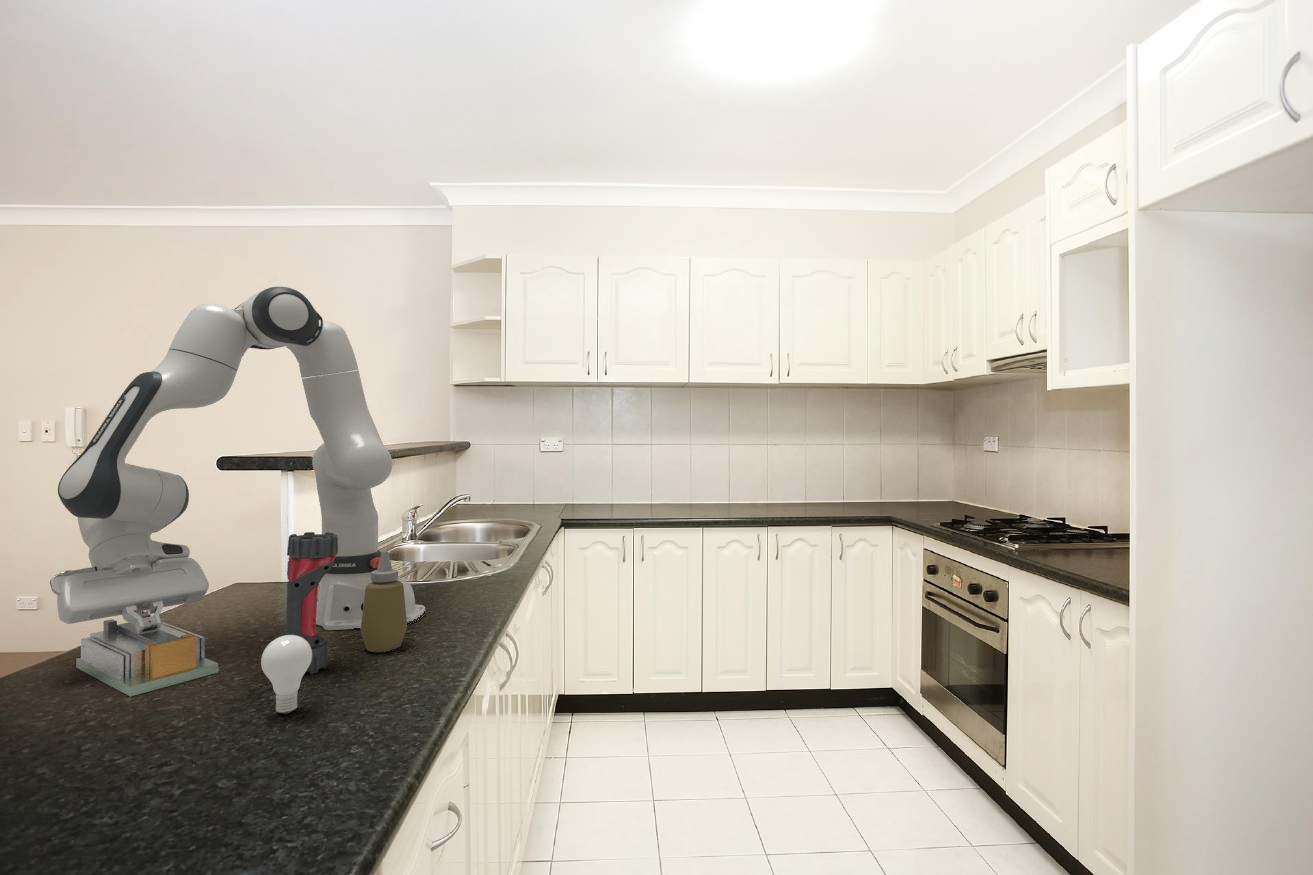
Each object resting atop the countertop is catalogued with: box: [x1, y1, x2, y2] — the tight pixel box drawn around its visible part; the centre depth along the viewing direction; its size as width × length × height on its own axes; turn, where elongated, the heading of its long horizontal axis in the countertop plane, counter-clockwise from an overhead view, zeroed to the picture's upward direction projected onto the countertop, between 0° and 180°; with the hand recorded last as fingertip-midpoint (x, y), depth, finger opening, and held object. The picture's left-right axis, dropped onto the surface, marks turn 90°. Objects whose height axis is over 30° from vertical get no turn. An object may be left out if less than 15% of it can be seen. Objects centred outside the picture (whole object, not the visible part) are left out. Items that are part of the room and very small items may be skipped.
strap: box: [117, 622, 182, 644], centre depth 108 cm, size 18×3×1 cm, turn 58°
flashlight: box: [283, 531, 338, 675], centre depth 109 cm, size 8×8×23 cm
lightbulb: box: [260, 634, 312, 715], centre depth 92 cm, size 6×6×11 cm
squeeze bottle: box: [360, 550, 408, 653], centre depth 120 cm, size 8×8×18 cm
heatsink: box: [75, 612, 219, 697], centre depth 108 cm, size 22×12×8 cm, turn 58°
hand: (149, 629), depth 107 cm, fingers closed, pressing on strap
